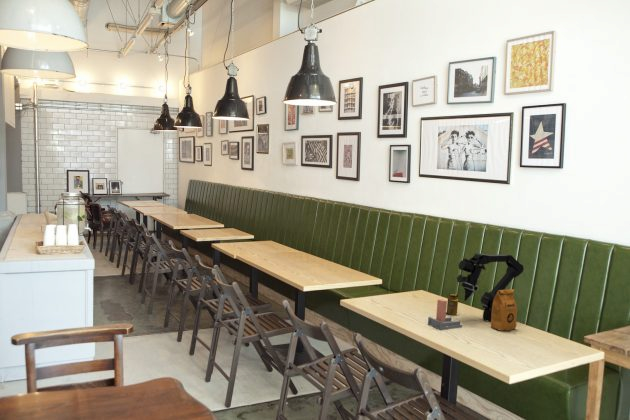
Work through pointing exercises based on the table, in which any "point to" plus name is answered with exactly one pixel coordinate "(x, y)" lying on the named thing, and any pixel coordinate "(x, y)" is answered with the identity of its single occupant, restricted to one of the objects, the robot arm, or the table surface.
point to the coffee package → (504, 311)
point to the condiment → (452, 305)
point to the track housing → (443, 326)
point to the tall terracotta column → (441, 310)
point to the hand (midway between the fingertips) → (465, 300)
